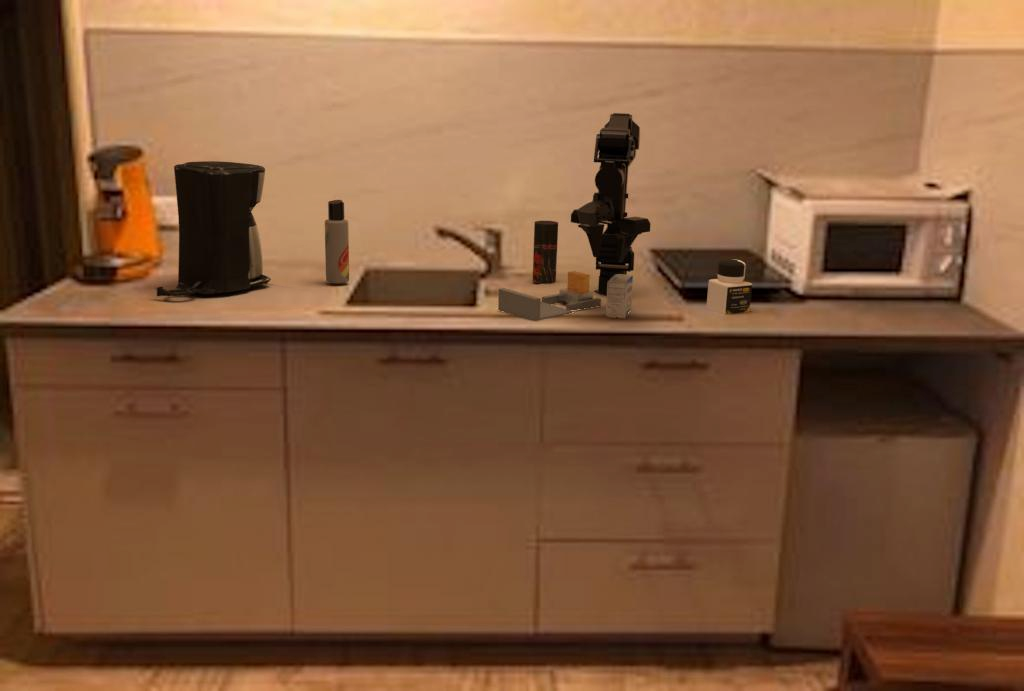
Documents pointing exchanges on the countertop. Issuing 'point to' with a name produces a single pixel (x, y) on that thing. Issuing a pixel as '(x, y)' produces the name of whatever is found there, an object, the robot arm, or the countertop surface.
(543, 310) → the press bed
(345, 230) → the lotion bottle
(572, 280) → the ram
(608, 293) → the medicine box
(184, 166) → the coffee maker
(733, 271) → the medicine bottle
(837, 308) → the countertop surface
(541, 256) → the deodorant
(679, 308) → the countertop surface
